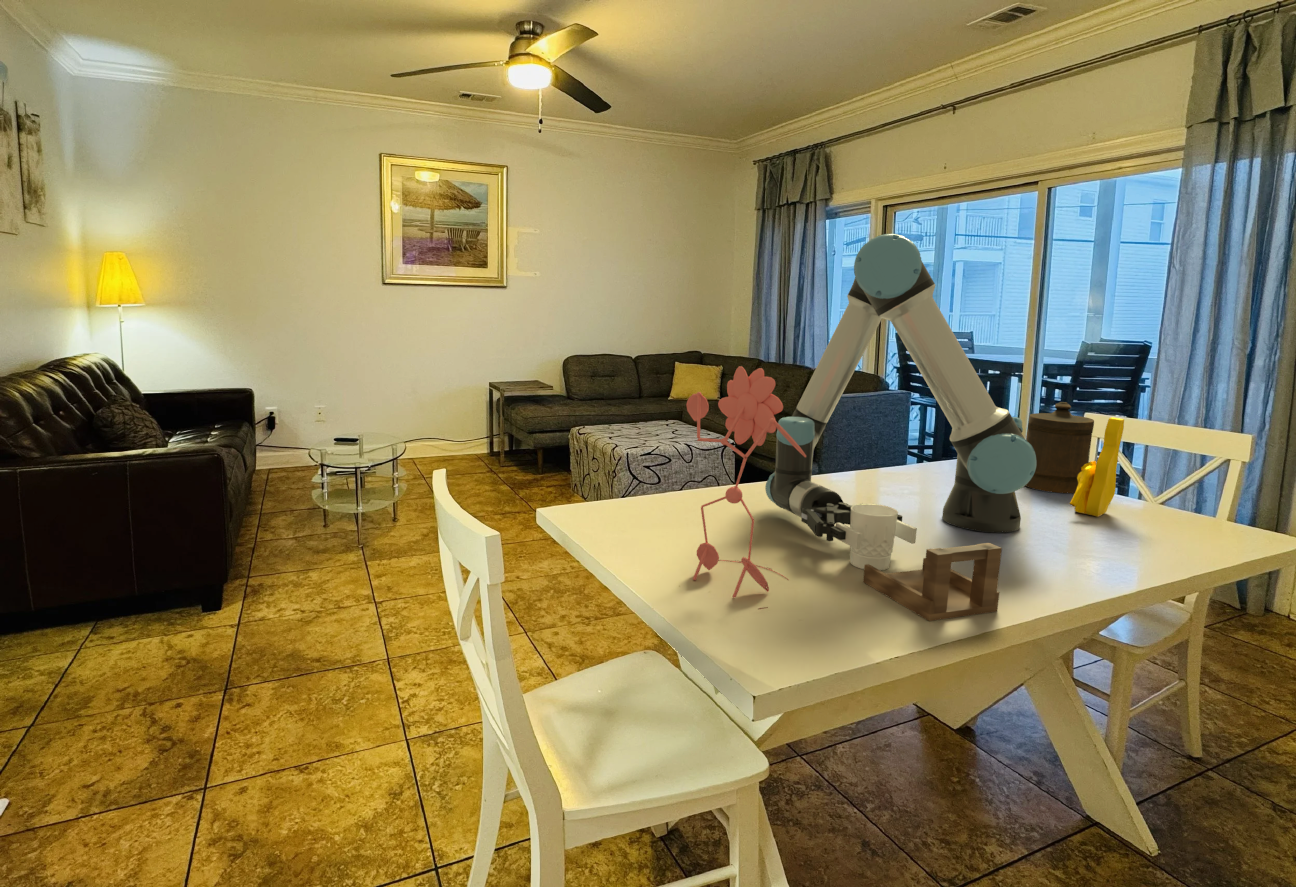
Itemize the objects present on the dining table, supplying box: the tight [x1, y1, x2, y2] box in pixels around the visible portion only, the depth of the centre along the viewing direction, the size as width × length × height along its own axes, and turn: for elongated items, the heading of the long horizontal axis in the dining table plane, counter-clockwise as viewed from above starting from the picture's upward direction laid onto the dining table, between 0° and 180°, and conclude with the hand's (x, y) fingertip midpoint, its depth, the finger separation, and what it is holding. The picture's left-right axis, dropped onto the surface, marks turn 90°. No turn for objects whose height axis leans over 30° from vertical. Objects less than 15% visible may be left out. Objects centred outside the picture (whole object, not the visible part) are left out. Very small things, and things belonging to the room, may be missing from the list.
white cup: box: [849, 503, 899, 571], centre depth 131 cm, size 8×8×10 cm
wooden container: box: [1024, 401, 1095, 494], centre depth 191 cm, size 15×15×22 cm
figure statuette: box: [1069, 417, 1125, 518], centre depth 166 cm, size 18×8×22 cm, turn 134°
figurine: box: [685, 365, 806, 610], centre depth 120 cm, size 15×26×35 cm, turn 39°
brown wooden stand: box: [862, 542, 1003, 622], centre depth 117 cm, size 16×12×10 cm
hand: (887, 538), depth 127 cm, fingers open, 10 cm apart
